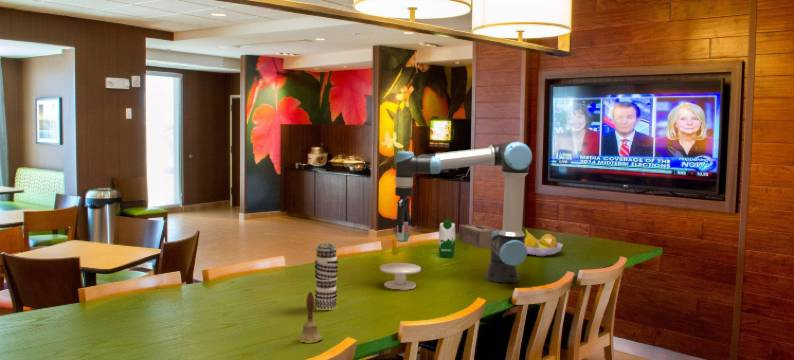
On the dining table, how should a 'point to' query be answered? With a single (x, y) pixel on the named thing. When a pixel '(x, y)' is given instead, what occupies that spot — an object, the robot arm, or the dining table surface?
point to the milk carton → (447, 239)
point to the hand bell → (310, 322)
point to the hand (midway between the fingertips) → (402, 238)
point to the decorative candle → (326, 276)
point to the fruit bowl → (542, 245)
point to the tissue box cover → (476, 235)
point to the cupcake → (406, 233)
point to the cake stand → (400, 275)
